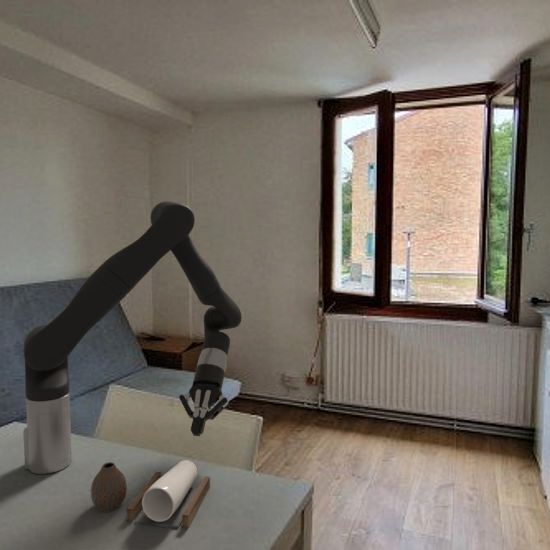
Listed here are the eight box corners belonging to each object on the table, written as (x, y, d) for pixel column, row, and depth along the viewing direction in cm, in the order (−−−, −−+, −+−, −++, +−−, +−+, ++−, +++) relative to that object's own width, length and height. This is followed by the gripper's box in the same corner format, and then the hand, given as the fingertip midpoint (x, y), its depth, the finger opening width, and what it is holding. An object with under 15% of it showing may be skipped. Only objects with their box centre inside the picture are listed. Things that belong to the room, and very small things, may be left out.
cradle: (125, 522, 90) (125, 510, 89) (156, 482, 104) (156, 471, 104) (187, 529, 88) (187, 517, 87) (209, 487, 102) (209, 476, 102)
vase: (99, 495, 98) (98, 456, 97) (131, 496, 98) (131, 457, 97) (85, 515, 91) (84, 473, 91) (120, 517, 91) (119, 474, 90)
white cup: (203, 460, 102) (177, 492, 88) (198, 489, 103) (171, 526, 88) (175, 452, 104) (144, 483, 89) (170, 481, 104) (138, 516, 89)
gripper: (183, 361, 120) (165, 426, 109) (232, 363, 118) (219, 431, 107) (190, 374, 125) (174, 438, 115) (237, 377, 123) (226, 442, 113)
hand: (196, 434), depth 111 cm, fingers closed
